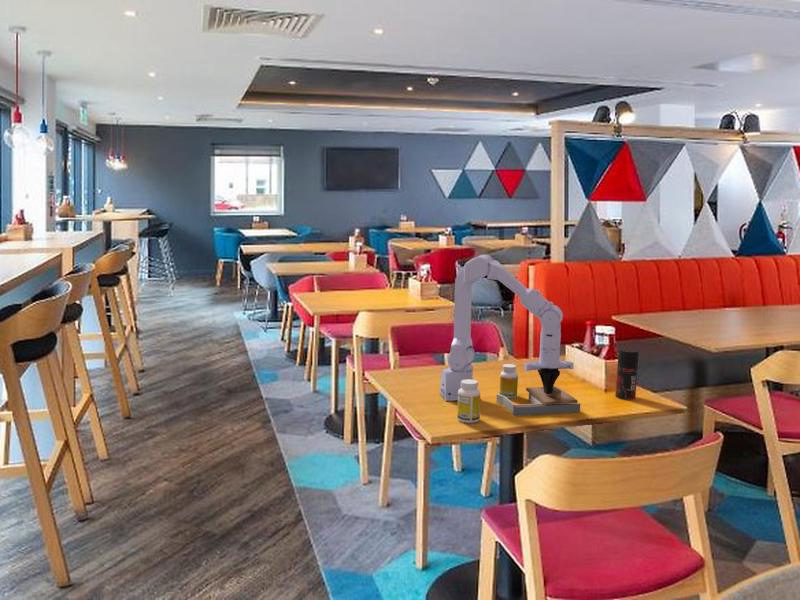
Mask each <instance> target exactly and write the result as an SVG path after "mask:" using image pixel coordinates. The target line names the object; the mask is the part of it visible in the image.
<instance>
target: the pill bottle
mask: <svg viewBox="0 0 800 600" xmlns="http://www.w3.org/2000/svg"><path fill="white" fill-rule="evenodd" d="M461 387H462V388H460V389H459V391H458V400H457V420H458V421H459V422H460V423H464V422H465V424H474V423H477V422H479V421H480V419H481V390H479V388H478V387H479V381H478V380H476V379H473V380H472V379H465V380H462V381H461Z"/></svg>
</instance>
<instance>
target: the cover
mask: <svg viewBox="0 0 800 600" xmlns="http://www.w3.org/2000/svg"><path fill="white" fill-rule="evenodd" d="M525 391H526V392H528V394H529V393H530V394H532V395H533V396H534V397H536V398H537V399H538V400H540V401H541V402H542V403H544V405H554V404H574V403H579V402H578V401H579V400H578V399H576V398H575V397H574V396H573V395H570V394H569V393H567V392H566V391H565V390H563V389H562V388H560V387H558V386H557V385H556V386H555V385H554V386H553V388H552V392H551V394H546V393H544V388H543V386H536V387H535V386H534V387H532V386H531V387H526V388H525Z"/></svg>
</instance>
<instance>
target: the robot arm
mask: <svg viewBox="0 0 800 600" xmlns="http://www.w3.org/2000/svg"><path fill="white" fill-rule="evenodd" d="M463 265H464V266H463V268H462V269H461V270H460V272H459V273H458V274H457V276H456V277H455V279H454V281H455V282H454V307H453V308H454V314H453V319H454V320H453V338H452V339H453V340H452V342H451V344H450V345H451V346H450V352H449V353H448V356H447V364H448V368H445V369H441V372H440V391H439V394H440V395H441V397H442V398H443V399H444V400H445V401H446V402H451V401H458V391H459V389H460V388H462V387H461V381H462V380H465V379H472V380H474V379H473V378H474V376H473V375H474V366H473V364H472V362H473V361H474V360H475V358H476V353H475V351H476V350H475V349H474V348H473V347H474V346H473V339H472V337H471V335H472V334H471V333H472V331H471V330H472V303H473V302H472V299H473V297H472V296H473V294H472V293H473V292H472V290H473V286H474V285H475V284H476V283H478V282H479V280H480V279H482V278H484V277H486V276H487V277H486V279H487V280H493V281H494V280H495V281H498V282H500V283H502V284H503V286H505V287H506V288H508V289H509V290H510V291H511V292H512V293H514V294H515V295H517V297H519V302H520V304H521V305H522V307H524V308H525V309H526V310H527V311H529V312H530V313H531V314H532V315H533V316H534V317H535V318H538V319H539V323H540V325H541V331H540V341H539V358H538V361H537V360H536V361H531V362H524V367H523V368H524V369H523V370H525V372H526V371H527V372H530V371H537V372H538V375H539V377H540V379H541V382H542V387H543V388H544V393H546V394H551V392H552V388H553V386H555V383H556V381H557V379H558V378H559V377H560V375H561V371H560V370H564V369H569V370H574V362H573V361H571V360H560V359H561V358H560V356H561V353H560V352H561V337H562V332H561V331H562V330H561V329H562V327H561V326H562V325H561V322H562V321H563V317H564V315H563V311H562V310H561V308H560V307H559V306H558V305H554V302H553V301H549V300H548V299H546V297H544V296H543V295H542V294H541V291H540V290H539V289H537V290H536V289H535V288H528V287H526V286H525V285H524V284H523V283H522V282H521V281H519V279H518V278H517V277H515V276H514V274H512V273H511V272H510V271H509V270H508V269H507V268H506V267H505V266H503V265H502V264H501V263H500V262H499V261H498V260H497V259H494V258H493V257H492V256H491V255H489V254H479V256H475V257H473V258H471V259H469V260H468V261H466V262H465V263H464V264H463Z"/></svg>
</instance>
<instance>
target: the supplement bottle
mask: <svg viewBox="0 0 800 600" xmlns="http://www.w3.org/2000/svg"><path fill="white" fill-rule="evenodd" d="M516 371H517V365H515V364H512V363H506V364H505V363H504V364H503V365H502V371H501V372H500V375H499V376H500V377H499V379H500V380H499V394H500V395H503V396H505V397H507V398H508V399H515V398H517V397H518V383H519V374H518V373H517V372H516Z"/></svg>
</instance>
